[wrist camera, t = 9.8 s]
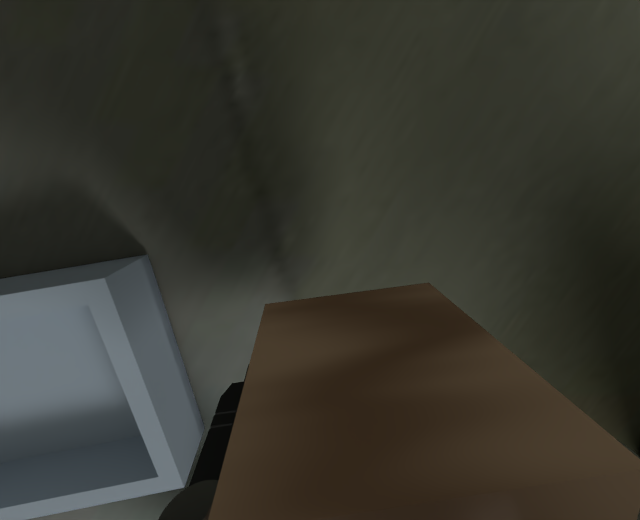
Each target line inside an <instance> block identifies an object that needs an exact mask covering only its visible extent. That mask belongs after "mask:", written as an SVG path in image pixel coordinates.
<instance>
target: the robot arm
mask: <svg viewBox="0 0 640 520" xmlns="http://www.w3.org/2000/svg"><path fill="white" fill-rule="evenodd" d="M248 368H249V365H248ZM248 368H247V371H248ZM246 375H247V372H246ZM245 379H246V376H245ZM244 383H245V380H244V382H238V383H232V384H231V385H230V387H229V388H228V389H227V390H226V391H225V393H224V394H223V395H222V396H221V398H220V401H219V403H218V406H217V409H216V412H215V413H216V414H215V415H214V417H213V420H212V423H211V429H209V432H208V434H207V437H206V440H205V443H204V446H203V449H202V451H201V454H200V457H199V460H198V463H197V466H196V468H195V471H194V474H193V477H192V480H191V482H190V485H189V487H187V488H186V489H185V490H183V491H182V492H180V493H179V494H178V495H177V496H176V497H175V498H174V499H173V500H172V501H171V502H170V503H169V504H168V505H167V507H166V508H165V509H164V511H163V512H162V514H161V515H160V517H159V519H158V520H208V518H209V515H210V511H211V507H212V503H213V500H214V496H215V492H216V488H217V484H218V481H219V477H220V473H221V469H222V466H223V462H224V458H225V454H226V451H227V447H228V443H229V439H230V436H231V432H232V428H233V424H234V420H235V417H236V413H237V409H238V405H239V402H240V398H241V394H242V390H243V387H244ZM616 440H617V439H616ZM617 441H618V440H617ZM619 442H620V441H619ZM620 443H621V442H620ZM621 444H622V445H623V446H625V447H626V448H627V449H628V450H629V451H631V452H632V453H633V454H634V455H635V456H637V457H638V458H639V459H640V456H638V455H637V454H636V453H635V452H634V451H633V450H631V449H630V448H629V447H627V446H626V445H625V444H623V443H621ZM637 520H640V509H639V513H638V517H637Z"/></svg>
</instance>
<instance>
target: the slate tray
mask: <svg viewBox="0 0 640 520" xmlns="http://www.w3.org/2000/svg"><path fill="white" fill-rule="evenodd" d="M204 429H205V427H204V424H203V421H202V418H201V415H200V412H199V409H198V406H197V403H196V400H195V397H194V394H193V391H192V388H191V385H190V381H189V378H188V375H187V372H186V369H185V366H184V363H183V360H182V357H181V354H180V351H179V348H178V345H177V342H176V339H175V336H174V333H173V330H172V327H171V324H170V321H169V318H168V315H167V311H166V308H165V305H164V302H163V299H162V296H161V293H160V290H159V287H158V284H157V281H156V278H155V275H154V272H153V269H152V266H151V263H150V260H149V257H148V254H147V255H141V256H135V257H129V258H123V259H117V260H111V261H105V262H99V263H93V264H87V265H81V266H75V267H69V268H63V269H57V270H51V271H44V272H38V273H32V274H26V275H20V276H14V277H8V278H2V279H0V520H26V519H31V518H36V517H41V516H46V515H51V514H56V513H61V512H66V511H71V510H76V509H81V508H86V507H91V506H96V505H101V504H106V503H111V502H116V501H120V500H125V499H130V498H135V497H140V496H145V495H150V494H155V493H160V492H165V491H170V490H175V489H180V488H184V487H185V484H186V481H187V478H188V475H189V472H190V470H191V467H192V464H193V461H194V458H195V455H196V452H197V449H198V446H199V443H200V440H201V438H202V435H203V432H204Z"/></svg>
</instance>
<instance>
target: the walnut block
mask: <svg viewBox="0 0 640 520" xmlns="http://www.w3.org/2000/svg"><path fill="white" fill-rule="evenodd" d="M639 509H640V459H639V458H638V457H637V456H635V455H634V454H633V453H632V452H631V451H629V450H628V449H627V448H626V447H625V446H623V445H622V444H621V443H620V442H619V441H617V440H616V439H615V438H614V437H613V436H611V435H610V434H609V433H608V432H607V431H605V430H604V429H603V428H602V427H601V426H599V425H598V424H597V423H596V422H595V421H593V420H592V419H591V418H590V417H589V416H587V415H586V414H585V413H584V412H583V411H582V410H580V409H579V408H578V407H577V406H576V405H574V404H573V403H572V402H571V401H570V400H568V399H567V398H566V397H565V396H564V395H562V394H561V393H560V392H559V391H558V390H556V389H555V388H554V387H553V386H552V385H550V384H549V383H548V382H547V381H546V380H544V379H543V378H542V377H541V376H540V375H538V374H537V373H536V372H535V371H534V370H532V369H531V368H530V367H529V366H528V365H526V364H525V363H524V362H523V361H522V360H521V359H519V358H518V357H517V356H516V355H515V354H513V353H512V352H511V351H510V350H509V349H507V348H506V347H505V346H504V345H503V344H501V343H500V342H499V341H498V340H497V339H495V338H494V337H493V336H492V335H491V334H489V333H488V332H487V331H486V330H485V329H483V328H482V327H481V326H480V325H479V324H477V323H476V322H475V321H474V320H473V319H471V318H470V317H469V316H468V315H467V314H465V313H464V312H463V311H462V310H461V309H460V308H458V307H457V306H456V305H455V304H454V303H452V302H451V301H450V300H449V299H448V298H446V297H445V296H444V295H443V294H442V293H440V292H439V291H438V290H437V289H436V288H434V287H433V286H432V285H431V284H430V283H423V284H415V285H408V286H400V287H393V288H385V289H377V290H370V291H362V292H354V293H347V294H339V295H331V296H324V297H316V298H309V299H301V300H293V301H286V302H278V303H270V304H265V307H264V311H263V315H262V319H261V322H260V326H259V330H258V334H257V338H256V341H255V345H254V349H253V353H252V356H251V360H250V364H249V368H248V371H247V375H246V379H245V383H244V387H243V390H242V394H241V398H240V402H239V405H238V409H237V413H236V417H235V420H234V424H233V428H232V432H231V436H230V439H229V443H228V447H227V451H226V454H225V458H224V462H223V466H222V469H221V473H220V477H219V481H218V484H217V488H216V492H215V496H214V500H213V503H212V507H211V511H210V515H209V518H208V520H637V517H638V513H639Z"/></svg>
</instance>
